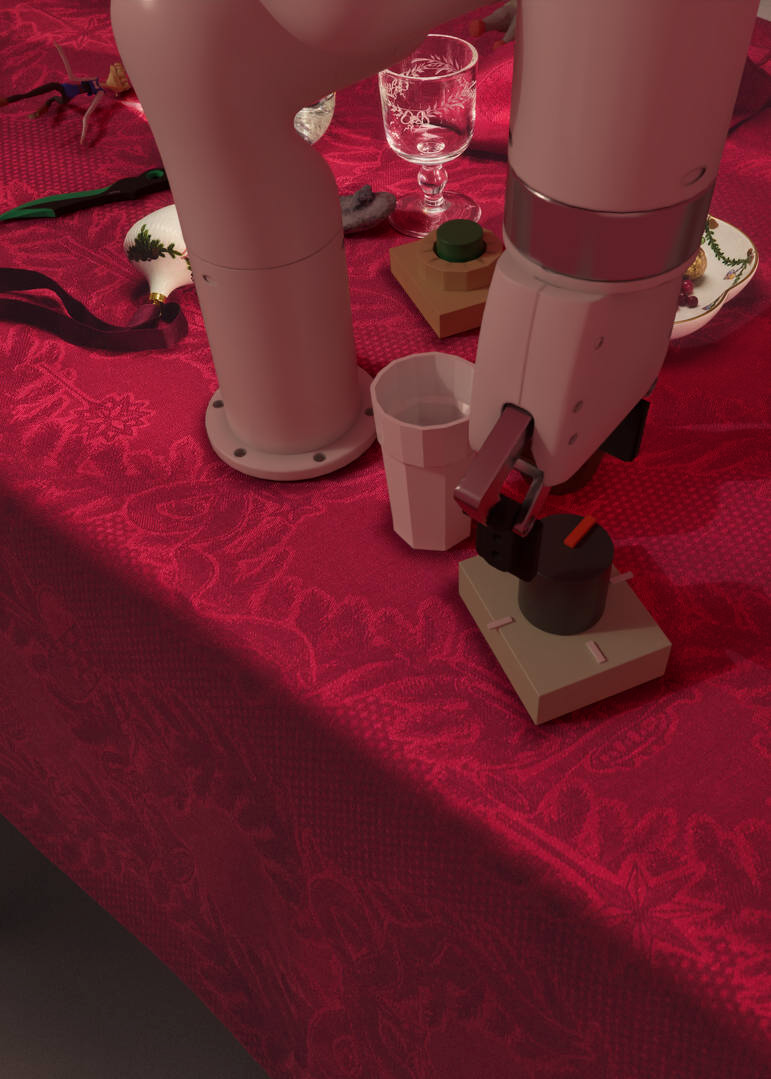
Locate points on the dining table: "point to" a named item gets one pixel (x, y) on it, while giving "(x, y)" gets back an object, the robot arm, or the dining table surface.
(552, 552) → the dial
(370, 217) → the fossil
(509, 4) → the toy
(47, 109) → the figurine
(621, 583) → the dial panel
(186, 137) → the robot arm
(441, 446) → the cup
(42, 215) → the knife
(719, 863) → the dining table surface
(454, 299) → the button box
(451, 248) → the button
